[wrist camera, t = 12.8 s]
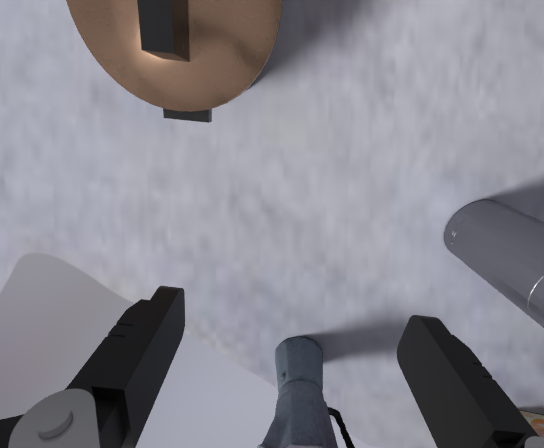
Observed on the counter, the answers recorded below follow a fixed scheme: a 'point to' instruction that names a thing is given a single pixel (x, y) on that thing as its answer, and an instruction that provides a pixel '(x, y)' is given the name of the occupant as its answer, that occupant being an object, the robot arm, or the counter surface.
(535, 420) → the coffeecake box
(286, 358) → the moka pot
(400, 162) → the counter surface
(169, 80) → the lid
